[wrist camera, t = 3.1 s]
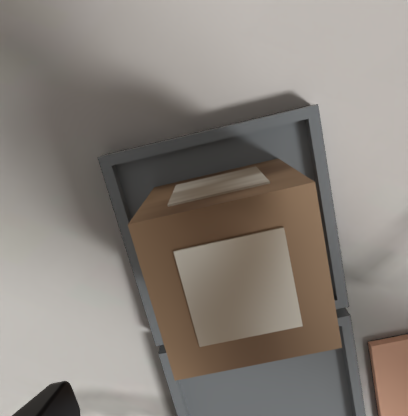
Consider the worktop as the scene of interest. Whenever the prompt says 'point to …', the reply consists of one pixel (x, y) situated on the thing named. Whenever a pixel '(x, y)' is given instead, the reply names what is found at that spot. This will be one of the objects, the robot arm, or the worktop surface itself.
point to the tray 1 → (217, 162)
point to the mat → (390, 374)
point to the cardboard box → (237, 268)
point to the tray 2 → (277, 385)
